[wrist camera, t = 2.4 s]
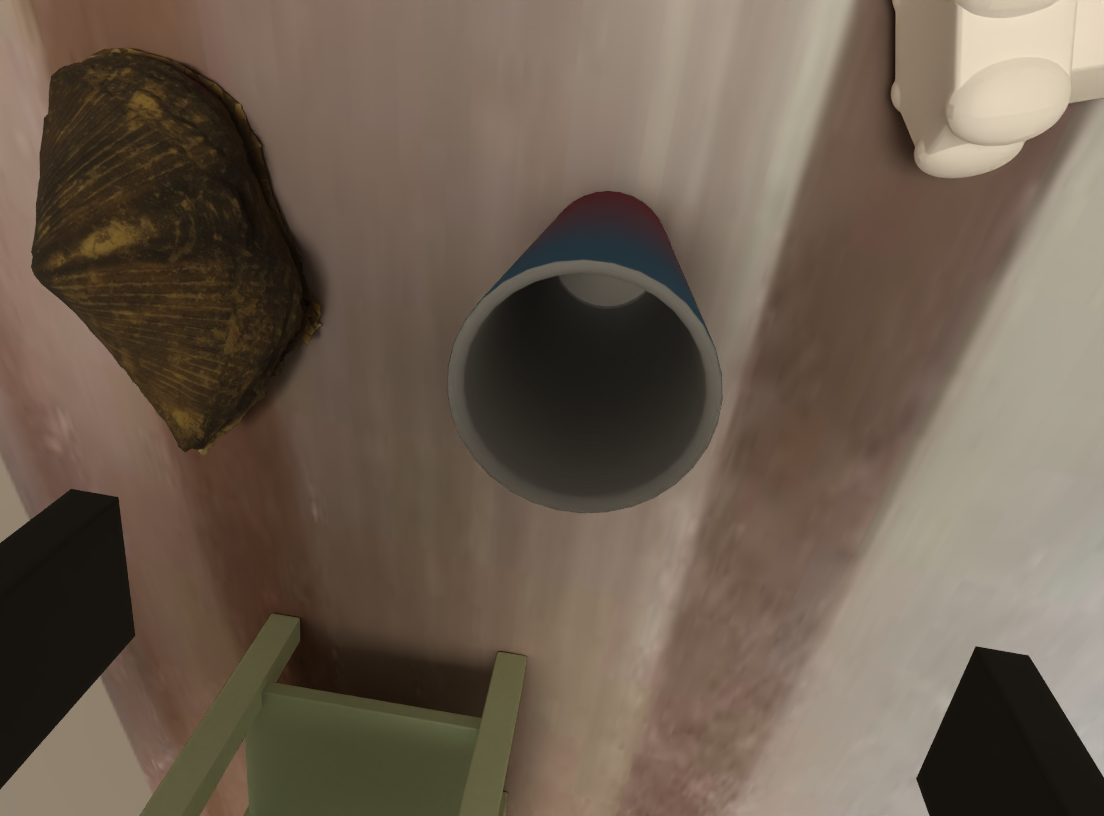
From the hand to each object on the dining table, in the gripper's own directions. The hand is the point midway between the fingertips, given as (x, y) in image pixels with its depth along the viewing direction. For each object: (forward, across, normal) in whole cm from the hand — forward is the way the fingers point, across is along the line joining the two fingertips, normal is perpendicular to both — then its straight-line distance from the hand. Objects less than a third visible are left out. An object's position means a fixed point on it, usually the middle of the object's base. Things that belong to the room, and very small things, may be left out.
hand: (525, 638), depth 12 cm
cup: (+24, 0, 0) cm, 24 cm away
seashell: (+23, -17, -2) cm, 29 cm away
